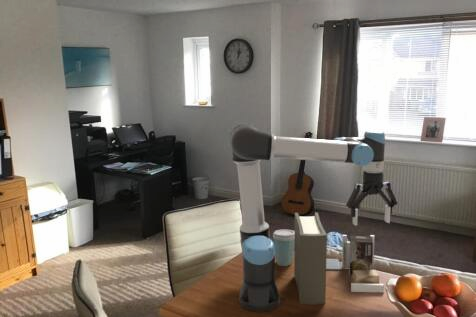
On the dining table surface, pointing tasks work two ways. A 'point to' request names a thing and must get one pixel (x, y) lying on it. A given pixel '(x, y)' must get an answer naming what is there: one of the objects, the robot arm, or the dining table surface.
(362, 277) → the offcut upper
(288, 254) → the disposable coffee cup
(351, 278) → the offcut lower
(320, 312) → the dining table surface
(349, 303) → the dining table surface
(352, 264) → the coffee box
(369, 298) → the dining table surface
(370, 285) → the rack
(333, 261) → the mat
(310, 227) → the book
